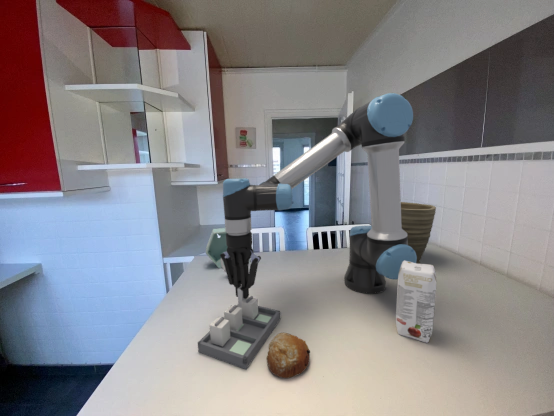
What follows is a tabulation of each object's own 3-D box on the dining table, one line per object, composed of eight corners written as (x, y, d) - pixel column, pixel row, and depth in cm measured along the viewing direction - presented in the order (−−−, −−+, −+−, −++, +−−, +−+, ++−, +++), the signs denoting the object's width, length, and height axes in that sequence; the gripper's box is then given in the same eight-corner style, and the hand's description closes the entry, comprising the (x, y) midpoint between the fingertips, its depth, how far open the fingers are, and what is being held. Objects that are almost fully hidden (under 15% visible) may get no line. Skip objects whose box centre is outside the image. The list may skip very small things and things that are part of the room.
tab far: (258, 313, 72) (257, 296, 71) (252, 320, 69) (251, 302, 68) (248, 311, 73) (247, 294, 72) (242, 317, 70) (241, 300, 69)
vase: (442, 273, 100) (440, 206, 93) (381, 270, 111) (375, 209, 104) (432, 249, 121) (430, 192, 115) (382, 248, 132) (377, 196, 125)
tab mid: (242, 324, 67) (241, 306, 66) (235, 331, 64) (234, 312, 63) (232, 321, 69) (231, 303, 68) (225, 328, 65) (223, 309, 65)
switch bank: (280, 318, 71) (280, 310, 71) (246, 369, 53) (245, 359, 53) (241, 308, 77) (240, 301, 77) (198, 351, 59) (197, 342, 59)
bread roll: (273, 359, 61) (259, 335, 60) (308, 340, 61) (295, 316, 60) (276, 394, 51) (259, 367, 50) (318, 373, 51) (302, 344, 50)
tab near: (230, 337, 62) (229, 318, 61) (222, 346, 59) (221, 326, 58) (219, 334, 63) (217, 315, 62) (210, 342, 60) (209, 322, 59)
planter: (225, 276, 112) (197, 244, 106) (224, 270, 119) (198, 239, 113) (254, 254, 114) (228, 221, 108) (251, 249, 122) (227, 218, 116)
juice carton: (431, 346, 59) (438, 275, 56) (393, 334, 63) (397, 268, 60) (431, 329, 65) (436, 264, 62) (396, 319, 70) (400, 258, 67)
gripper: (264, 230, 69) (267, 304, 72) (227, 227, 74) (232, 296, 78) (251, 237, 62) (255, 318, 66) (212, 233, 67) (218, 308, 71)
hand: (243, 306), depth 72 cm, fingers closed
